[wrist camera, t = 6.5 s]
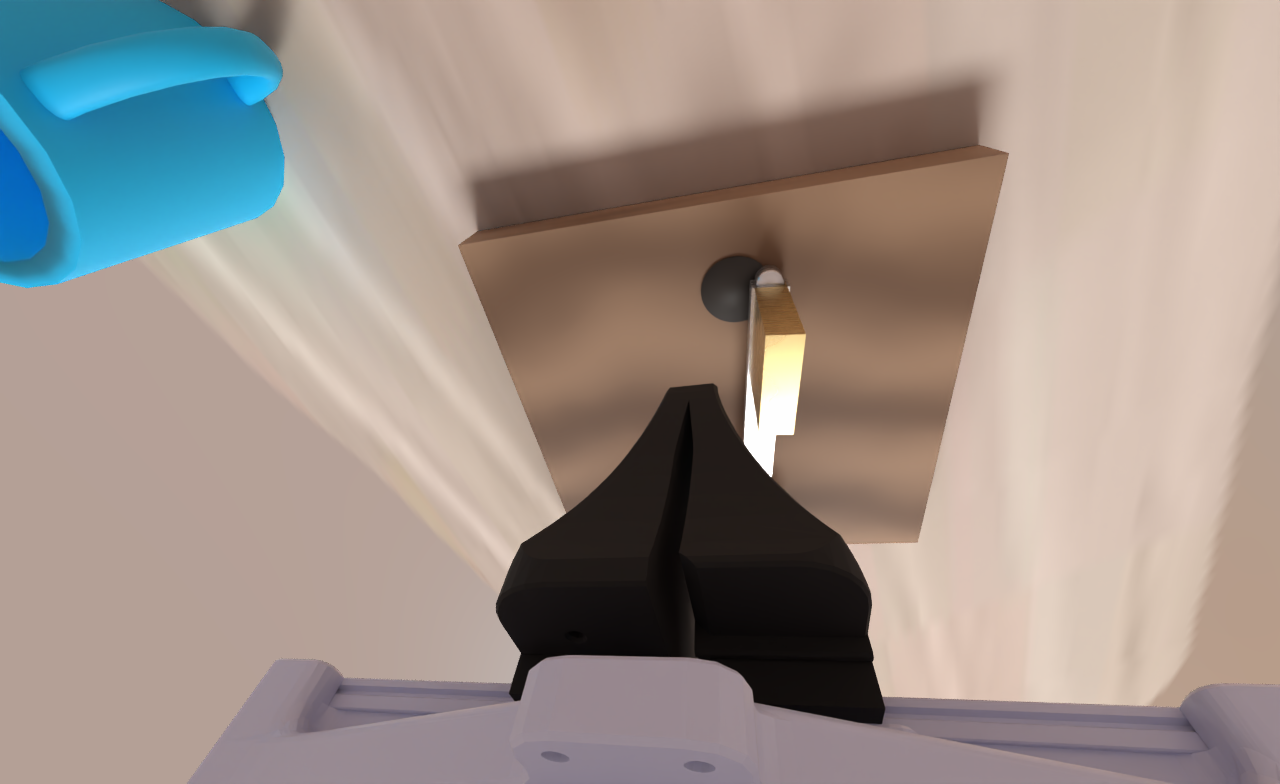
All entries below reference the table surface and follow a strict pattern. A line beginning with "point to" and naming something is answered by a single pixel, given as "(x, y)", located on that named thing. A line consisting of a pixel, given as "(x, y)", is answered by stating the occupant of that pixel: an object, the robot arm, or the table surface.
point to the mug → (126, 134)
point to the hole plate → (718, 323)
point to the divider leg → (771, 364)
